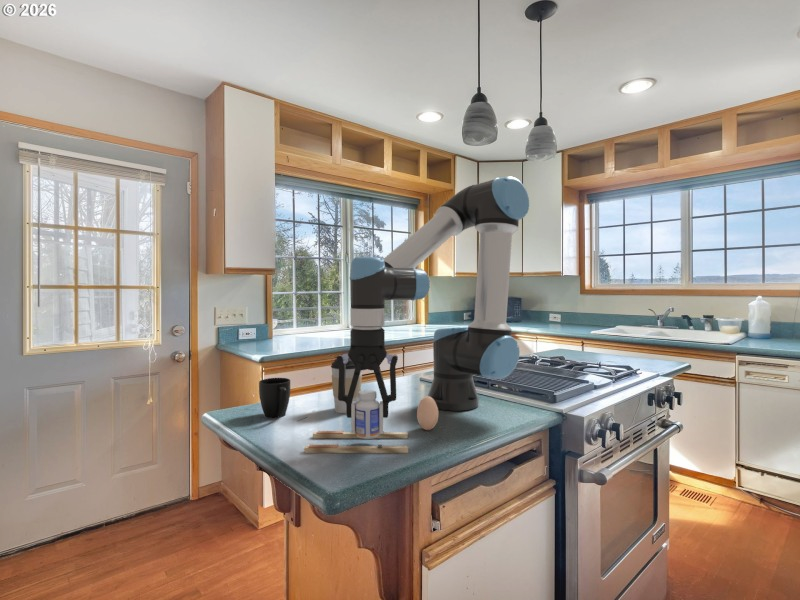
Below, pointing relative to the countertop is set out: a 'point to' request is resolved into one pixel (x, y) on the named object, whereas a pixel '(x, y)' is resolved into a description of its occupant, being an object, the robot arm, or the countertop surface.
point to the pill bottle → (367, 415)
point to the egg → (427, 413)
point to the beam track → (355, 448)
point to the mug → (274, 396)
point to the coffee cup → (350, 368)
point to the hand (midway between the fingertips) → (367, 431)
